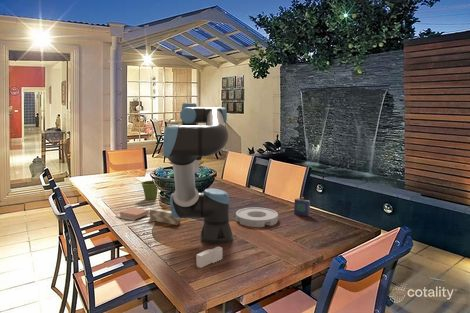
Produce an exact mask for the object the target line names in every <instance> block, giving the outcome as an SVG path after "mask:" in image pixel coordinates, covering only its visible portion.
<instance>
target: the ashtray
mask: <svg viewBox="0 0 470 313" xmlns="http://www.w3.org/2000/svg"><path fill="white" fill-rule="evenodd" d="M235 221H236V223H237V222H238V223H239V224H240V225H242V226H245V227H250V226H251V228H253V227H254V228H264V227H266V226H271V227H272V226H275V225H277V223H278V221H279V213H278V212H277V211H276V210H274V209H272V208H266V207H257V206H255V207H245V208H240V209H238V210H237V211H236V212H235Z"/></svg>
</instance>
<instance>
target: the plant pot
mask: <svg viewBox="0 0 470 313" xmlns="http://www.w3.org/2000/svg"><path fill="white" fill-rule="evenodd" d="M153 181H154V180H145V181H142V182H141V183H140V184H141V186H142V189H143V194H144V198H145V200H146V201H154V200H156V199H157V197H158V196H157V195H158V188H159V187H158V188H157V187H156V185H155V184H154V182H153Z"/></svg>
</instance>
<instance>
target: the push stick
mask: <svg viewBox="0 0 470 313" xmlns="http://www.w3.org/2000/svg"><path fill="white" fill-rule="evenodd" d="M149 211H150V214H149V220H150V221H154V222H159V223H165V224H170V225H176V226H177V225H179V224H181V218H175V217H173V215H172V213H171V210H165V209H161V208H154V207H152V208H150V209H149Z"/></svg>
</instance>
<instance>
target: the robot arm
mask: <svg viewBox="0 0 470 313" xmlns="http://www.w3.org/2000/svg"><path fill="white" fill-rule="evenodd" d="M179 117H180V120H181V125H179V124H174V125H167V126H166V127H165V129H164V130H163V132H164V133H163V143H162V156H163V157H165V158H167V159H168V161H169V162H170V163H171V164H172V170H173V178H174V180H173V181H174V187H175V188H174V189H175V190H174V192H172V193H171V194H170V197H169V198H170V199H169V205H170V211H171V213H172V215H173V217H175V218H180V219H200V218H201V219H202V218H203V226H202V228H201V231H200V241H201V242H202V243H205V244H208V245H223V244H227V243H230V242H231V241H232V240H233V232H232V228H231V225H230V198H229V197H230V196H229V195H230V194H229V193H228V192H227V191H225V190H222V189H218V188H205V189H204V190H203V192H199V191H198V189H197V188H196V176H195V173H200V161H202V158H203V157H211V156H213V155H215V154H216V153H219V152H221V151H222V149H224V148H225V147H226V145H227V143H228V142H229V141H228V140H229V131H228V129H227V127H226V126H225V123H227V119H228V112H227V108H226V107H222V106H221V107H220V106H217V107H215V106H214V107H213V106H212V107H209V106H208V107H206V106H205V107H202V106H197V103H195V102H182V104H181V110H180V113H179ZM198 124H203V125H198ZM204 124H206V125H204Z"/></svg>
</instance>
